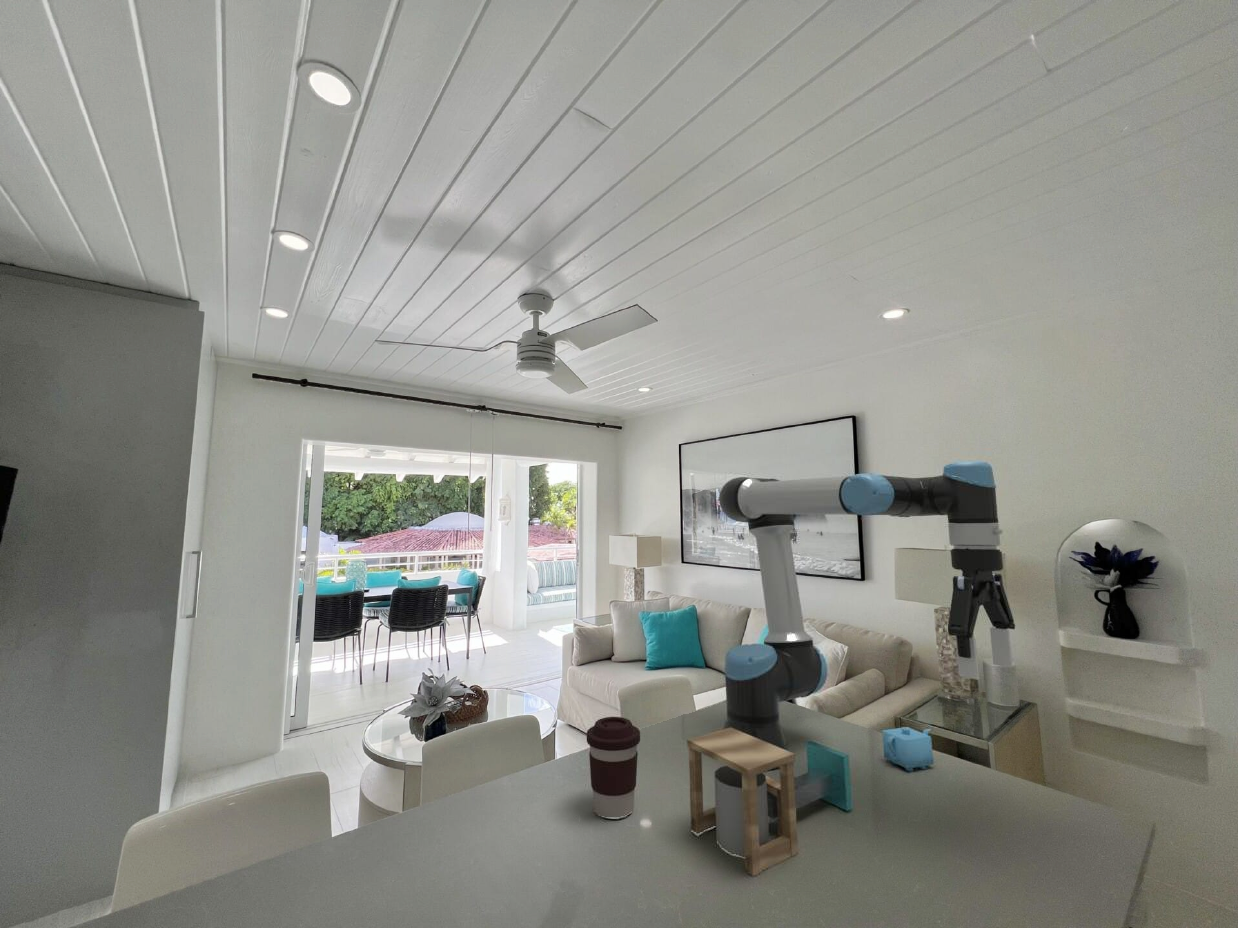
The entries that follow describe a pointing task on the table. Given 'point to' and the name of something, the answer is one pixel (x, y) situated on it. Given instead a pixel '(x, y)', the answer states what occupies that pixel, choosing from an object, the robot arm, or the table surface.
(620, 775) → the coffee cup
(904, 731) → the teapot
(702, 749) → the wooden stool
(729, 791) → the cup
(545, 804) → the table surface
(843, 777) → the grey and teal block
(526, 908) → the table surface
